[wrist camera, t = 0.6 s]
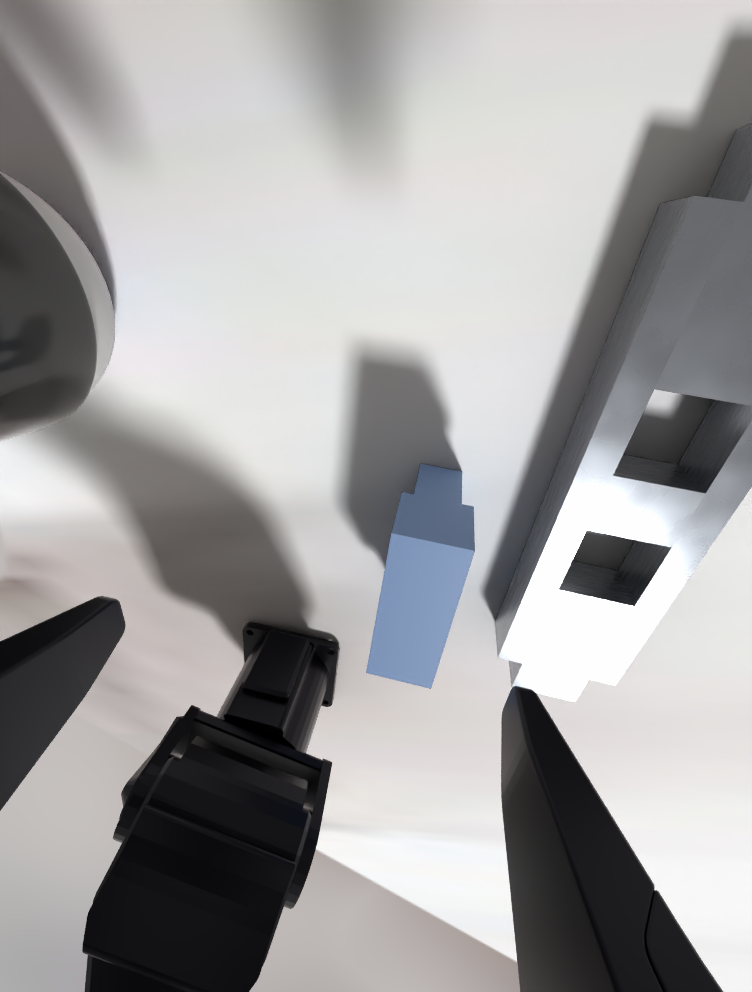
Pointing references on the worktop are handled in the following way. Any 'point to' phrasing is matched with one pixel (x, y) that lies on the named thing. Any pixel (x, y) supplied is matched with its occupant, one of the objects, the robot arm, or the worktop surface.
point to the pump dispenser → (47, 315)
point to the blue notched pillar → (422, 578)
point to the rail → (638, 481)
